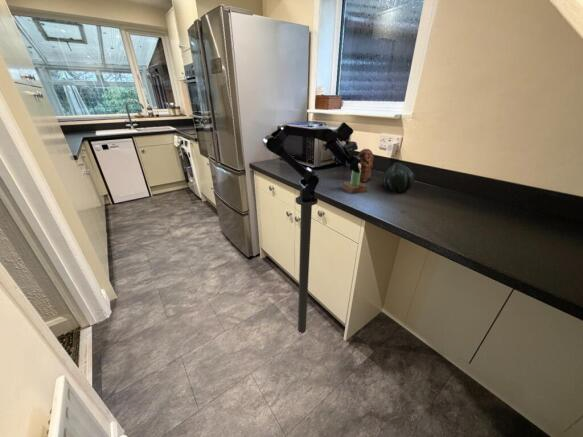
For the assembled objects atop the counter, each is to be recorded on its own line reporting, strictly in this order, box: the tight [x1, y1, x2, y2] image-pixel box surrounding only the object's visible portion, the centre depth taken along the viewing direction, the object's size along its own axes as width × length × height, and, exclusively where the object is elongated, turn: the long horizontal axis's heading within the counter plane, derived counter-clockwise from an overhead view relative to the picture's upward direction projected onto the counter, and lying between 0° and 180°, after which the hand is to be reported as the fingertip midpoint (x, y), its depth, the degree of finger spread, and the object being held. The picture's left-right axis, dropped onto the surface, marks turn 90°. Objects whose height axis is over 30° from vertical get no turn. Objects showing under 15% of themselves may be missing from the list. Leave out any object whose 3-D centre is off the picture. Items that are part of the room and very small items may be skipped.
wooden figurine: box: [356, 148, 375, 183], centre depth 134 cm, size 12×6×18 cm, turn 128°
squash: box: [382, 162, 415, 193], centre depth 122 cm, size 14×15×15 cm
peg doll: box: [350, 163, 361, 186], centre depth 120 cm, size 4×4×12 cm
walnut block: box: [341, 181, 368, 195], centre depth 123 cm, size 9×9×3 cm
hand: (353, 169), depth 118 cm, fingers open, 9 cm apart
